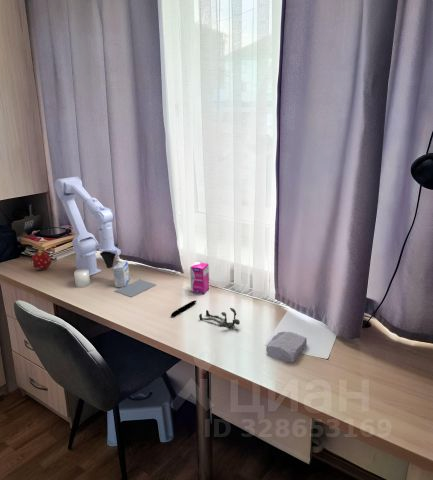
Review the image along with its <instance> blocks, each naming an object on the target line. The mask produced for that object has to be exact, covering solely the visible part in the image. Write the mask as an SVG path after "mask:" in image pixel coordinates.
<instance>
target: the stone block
mask: <svg viewBox="0 0 433 480" xmlns="http://www.w3.org/2000/svg"><path fill="white" fill-rule="evenodd" d="M265 347H266V348H265V349H266V354H267V356H268V357H271V358H273V359H275V360H280V361H284V362H287V363H290V364H294V363H295V361H296V360H297V358H298V357H299V356H300V355H301V353H302V352H303V350H304V349H305V347H307V337H305V336H303V335H301V334H298V333H297V332H296V333H295V332H291V331H280V332H277V334H276V335H274V336H273V337H272V338H271V339H270V340H269V341H268V343H267V345H266V346H265Z"/></svg>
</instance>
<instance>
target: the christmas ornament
mask: <svg viewBox="0 0 433 480" xmlns="http://www.w3.org/2000/svg"><path fill="white" fill-rule="evenodd" d="M51 264H52V257H51V256H50V254H49V253H47V252H45V251H42V250H41V249H38V252H35V253H34V254H33V255H32V257H31V265H32V267H33V268H35V269H36V270H39V271H44V270H46V269H48V268H49V267H50V266H51Z"/></svg>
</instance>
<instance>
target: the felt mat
mask: <svg viewBox="0 0 433 480" xmlns="http://www.w3.org/2000/svg"><path fill="white" fill-rule="evenodd" d="M155 286H157V284H156V283H152V282H149V281H147V280H143V279H137V280H135V281H133V282H131V283H129V284H128V283H127V285H126V287H119V288H118V289H115V290H114V292H115V293H118V294H120V295H121V294H122V295H123V296H127V297H129V298H133V297H135V296H137V295H139V294H141V293H143V292H145V291H148V290H149V289H152V288H153V287H155Z"/></svg>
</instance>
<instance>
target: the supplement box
mask: <svg viewBox="0 0 433 480" xmlns="http://www.w3.org/2000/svg"><path fill="white" fill-rule="evenodd" d="M209 270H210V268H209V263H206V262H199V261H195V262H194V263H193V264H191V265H190V266H189V272H190V274H189V275H190V292H191V293H194V294H200V295H205V293H207V292H208V291H209V290H210V277H209V276H210V275H209V274H210V272H209Z"/></svg>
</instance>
